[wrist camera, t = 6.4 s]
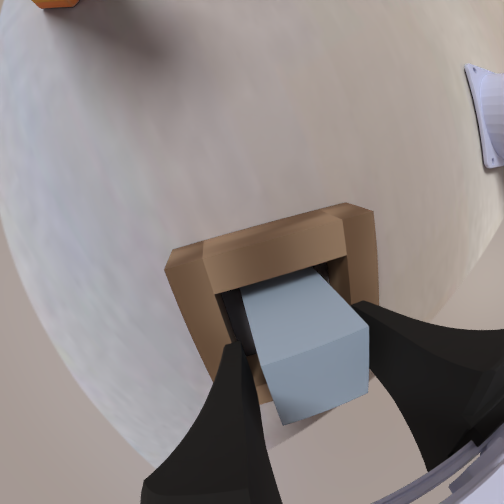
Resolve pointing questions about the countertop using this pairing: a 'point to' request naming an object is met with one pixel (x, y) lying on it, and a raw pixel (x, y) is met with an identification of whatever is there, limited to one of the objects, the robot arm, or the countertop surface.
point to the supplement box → (55, 3)
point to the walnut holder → (271, 271)
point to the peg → (307, 343)
